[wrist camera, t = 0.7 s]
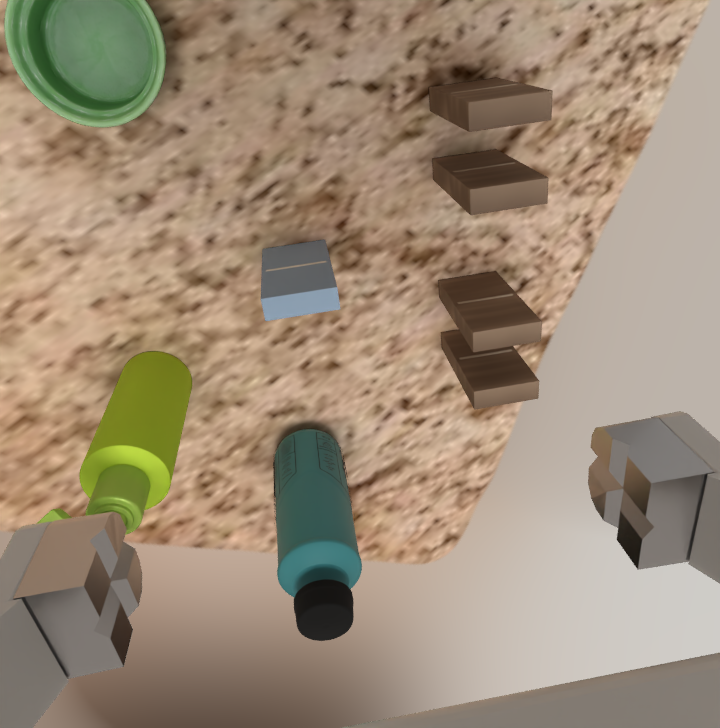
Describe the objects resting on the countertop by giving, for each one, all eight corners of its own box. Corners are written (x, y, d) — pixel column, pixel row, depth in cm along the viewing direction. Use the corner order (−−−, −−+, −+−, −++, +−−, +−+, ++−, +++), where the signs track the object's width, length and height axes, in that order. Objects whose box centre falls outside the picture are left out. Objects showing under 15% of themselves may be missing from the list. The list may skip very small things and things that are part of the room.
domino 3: (432, 158, 45) (470, 189, 37) (496, 149, 46) (548, 177, 37) (433, 180, 46) (470, 215, 38) (495, 170, 46) (547, 203, 38)
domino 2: (428, 87, 43) (468, 102, 34) (496, 77, 43) (552, 90, 35) (429, 111, 44) (469, 131, 35) (496, 101, 44) (551, 120, 35)
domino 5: (440, 332, 53) (474, 391, 44) (495, 323, 53) (539, 380, 45) (441, 348, 54) (474, 409, 45) (495, 339, 54) (538, 398, 45)
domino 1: (262, 248, 47) (260, 298, 39) (324, 239, 47) (337, 286, 39) (266, 268, 48) (265, 321, 39) (327, 258, 48) (340, 309, 40)
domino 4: (438, 280, 50) (473, 332, 42) (495, 271, 51) (541, 321, 42) (439, 297, 51) (473, 352, 43) (495, 288, 52) (540, 341, 43)
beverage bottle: (261, 432, 56) (257, 614, 38) (327, 406, 55) (353, 579, 38) (289, 480, 59) (297, 668, 42) (352, 457, 59) (386, 637, 41)
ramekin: (192, 103, 42) (185, 112, 38) (65, 130, 41) (44, 141, 38) (147, -50, 37) (133, -59, 33) (4, -21, 37) (-27, -27, 33)
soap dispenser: (141, 330, 49) (72, 494, 32) (206, 380, 52) (174, 555, 35) (96, 374, 51) (6, 554, 33) (161, 420, 54) (110, 607, 36)
